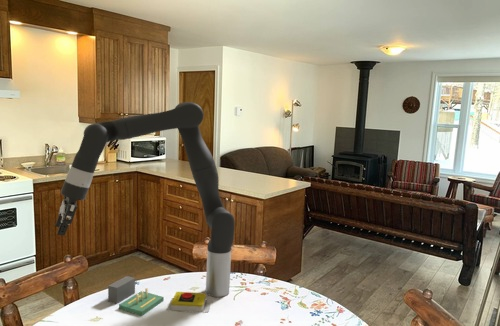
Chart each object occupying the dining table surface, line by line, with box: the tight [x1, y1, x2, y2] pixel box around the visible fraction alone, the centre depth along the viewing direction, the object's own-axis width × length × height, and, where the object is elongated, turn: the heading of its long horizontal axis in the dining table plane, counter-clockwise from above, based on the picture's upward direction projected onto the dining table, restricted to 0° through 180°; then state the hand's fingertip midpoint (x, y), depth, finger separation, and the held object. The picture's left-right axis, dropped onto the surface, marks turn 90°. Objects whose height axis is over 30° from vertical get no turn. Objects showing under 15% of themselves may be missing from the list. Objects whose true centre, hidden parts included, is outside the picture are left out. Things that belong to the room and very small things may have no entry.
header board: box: [118, 287, 164, 317], centre depth 134 cm, size 12×10×5 cm
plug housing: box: [107, 275, 136, 305], centre depth 138 cm, size 10×4×6 cm, turn 157°
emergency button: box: [166, 291, 212, 314], centre depth 135 cm, size 9×4×15 cm
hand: (59, 230), depth 119 cm, fingers open, 8 cm apart
